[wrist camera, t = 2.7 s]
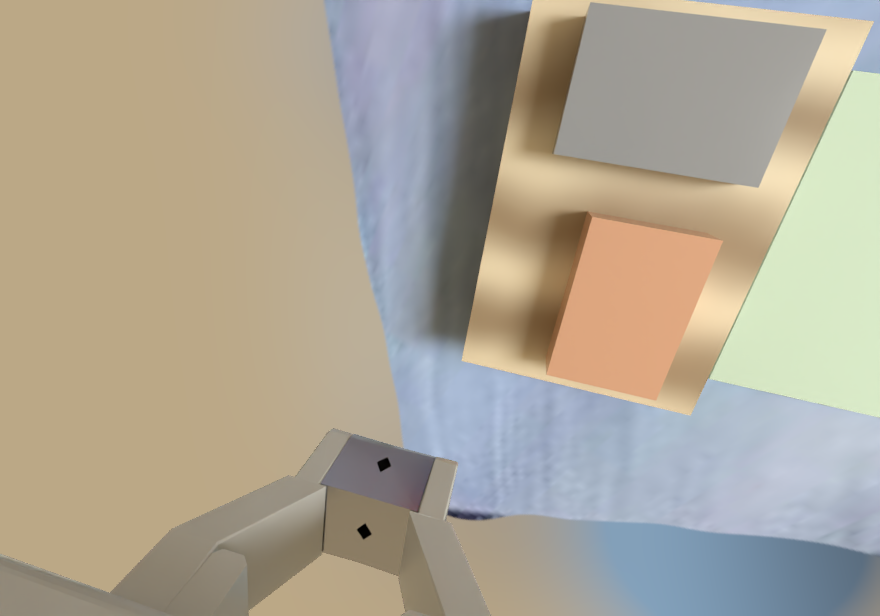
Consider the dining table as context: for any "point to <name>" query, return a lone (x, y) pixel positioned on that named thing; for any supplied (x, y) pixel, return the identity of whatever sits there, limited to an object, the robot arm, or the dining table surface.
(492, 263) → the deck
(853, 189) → the mat
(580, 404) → the dining table surface
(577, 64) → the slate tile
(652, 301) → the terracotta tile
